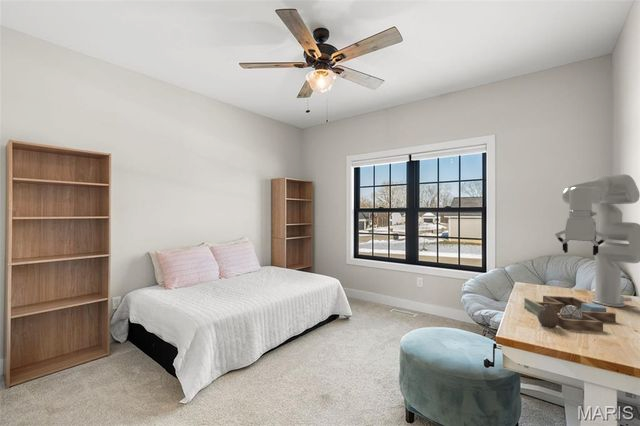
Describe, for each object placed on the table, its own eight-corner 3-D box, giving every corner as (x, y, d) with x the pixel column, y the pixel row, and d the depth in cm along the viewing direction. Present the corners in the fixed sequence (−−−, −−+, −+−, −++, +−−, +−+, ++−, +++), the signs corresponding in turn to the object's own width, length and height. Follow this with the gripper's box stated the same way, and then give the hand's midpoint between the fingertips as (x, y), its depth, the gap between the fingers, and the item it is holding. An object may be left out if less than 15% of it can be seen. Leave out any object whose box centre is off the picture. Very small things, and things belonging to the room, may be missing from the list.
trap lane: (574, 303, 152) (574, 294, 152) (642, 333, 115) (642, 320, 115) (511, 300, 157) (511, 291, 157) (558, 328, 119) (558, 315, 119)
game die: (577, 333, 123) (594, 319, 117) (555, 324, 125) (571, 310, 119) (570, 317, 130) (586, 303, 125) (550, 309, 132) (565, 294, 126)
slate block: (595, 314, 137) (595, 303, 137) (606, 319, 131) (606, 307, 131) (581, 313, 138) (581, 303, 138) (591, 318, 132) (591, 307, 132)
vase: (554, 324, 124) (554, 303, 124) (562, 330, 117) (562, 308, 117) (535, 322, 126) (535, 301, 126) (541, 328, 119) (541, 306, 119)
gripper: (608, 215, 126) (608, 255, 126) (557, 214, 139) (557, 251, 139) (606, 215, 121) (605, 256, 121) (553, 214, 134) (553, 252, 134)
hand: (579, 253), depth 130 cm, fingers open, 9 cm apart
